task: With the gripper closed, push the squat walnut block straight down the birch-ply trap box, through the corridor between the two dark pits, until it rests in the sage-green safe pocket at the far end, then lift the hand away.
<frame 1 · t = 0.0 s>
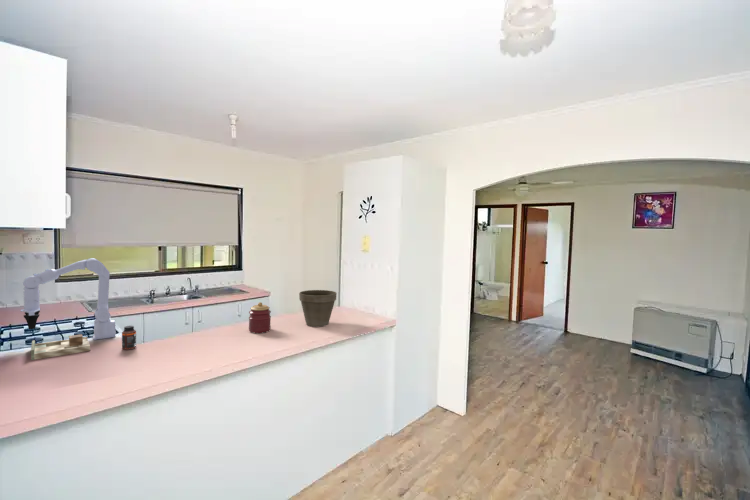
hand: (32, 327, 178), 10 cm above the worktop, fingers open, 7 cm apart
supplement bottle: (129, 348, 181), on the worktop
walnut block: (75, 344, 179), point 2 cm above the worktop, touching trap box
canister: (259, 330, 220), on the worktop
trap box: (62, 349, 175), on the worktop
plant pot: (317, 324, 239), on the worktop
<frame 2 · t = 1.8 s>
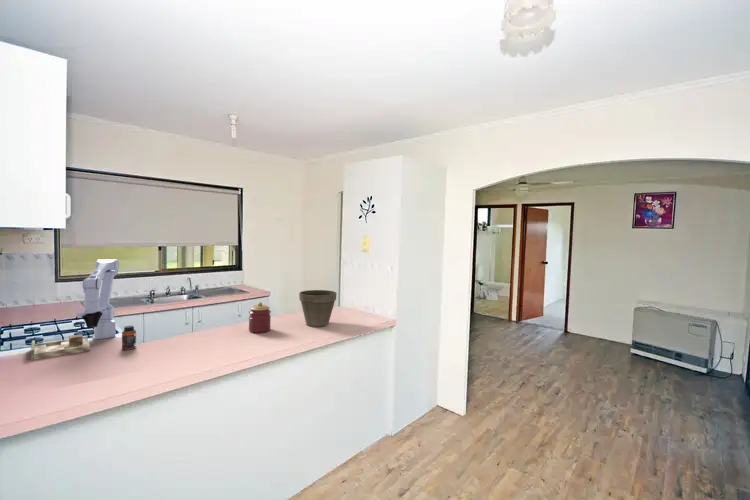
hand: (92, 327, 183), 9 cm above the worktop, fingers closed
nothing on the worktop moved.
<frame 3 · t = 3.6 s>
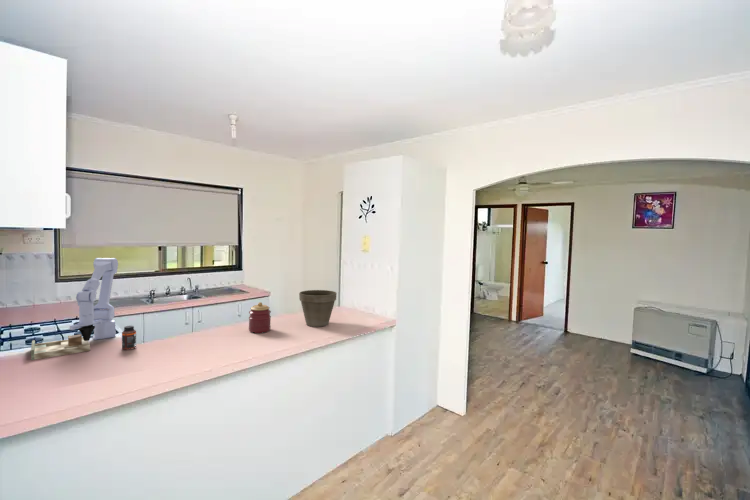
hand: (86, 340, 182), 3 cm above the worktop, fingers closed
walnut block: (75, 344, 179), point 2 cm above the worktop, touching gripper, trap box
everything else where it was.
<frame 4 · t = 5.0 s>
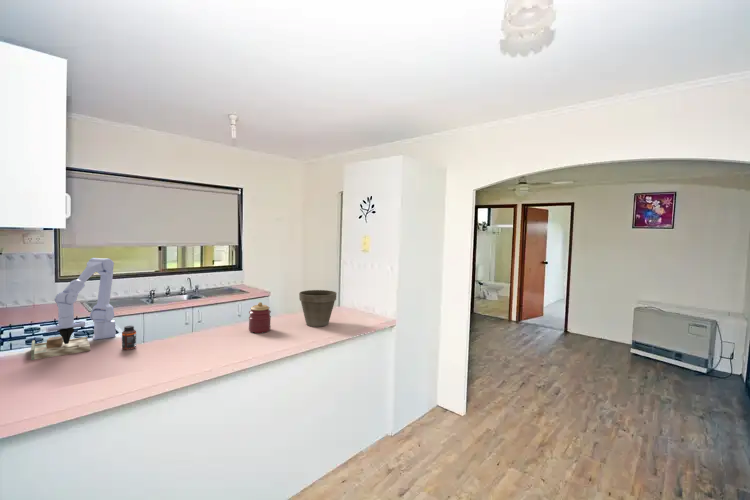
hand: (66, 343, 176), 3 cm above the worktop, fingers closed
walnut block: (54, 346, 175), point 2 cm above the worktop, touching gripper
everything else where it was.
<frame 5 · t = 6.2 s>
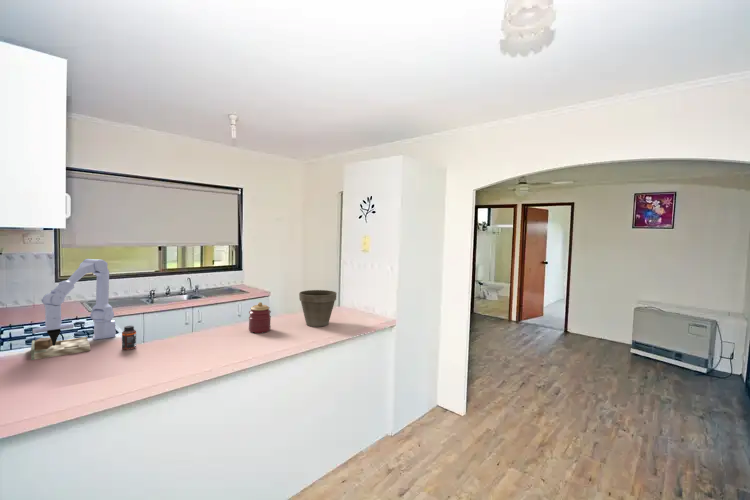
hand: (53, 345, 173), 3 cm above the worktop, fingers closed
walnut block: (43, 347, 172), point 2 cm above the worktop, touching gripper, trap box
everything else where it was.
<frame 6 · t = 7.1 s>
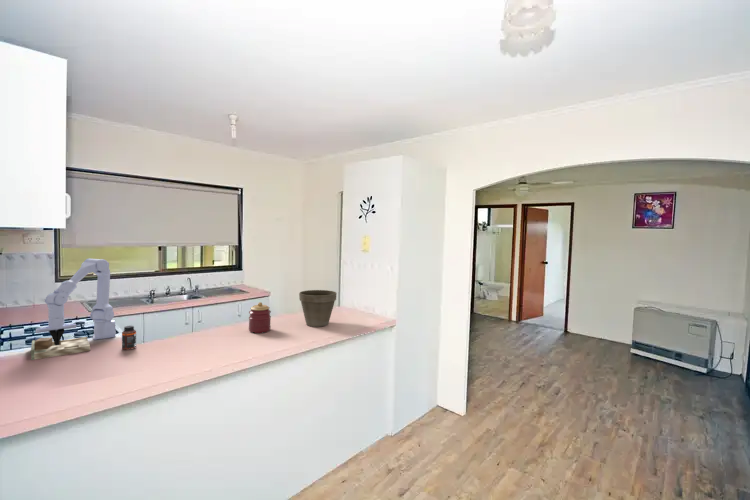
hand: (56, 344, 174), 3 cm above the worktop, fingers closed
walnut block: (43, 347, 172), point 2 cm above the worktop, touching trap box
everything else where it was.
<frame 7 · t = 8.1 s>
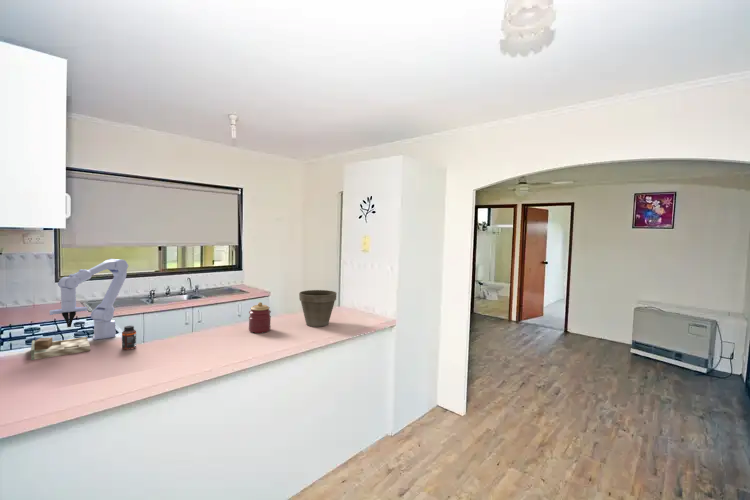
hand: (69, 326, 182), 10 cm above the worktop, fingers closed
nothing on the worktop moved.
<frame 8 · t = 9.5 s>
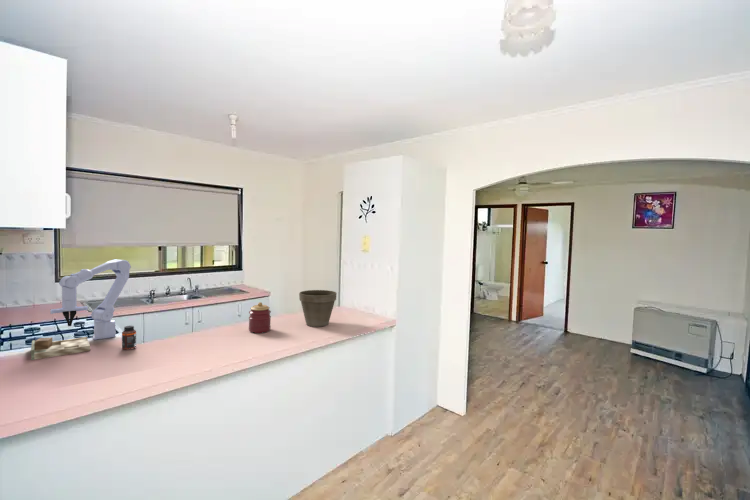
hand: (69, 325, 183), 10 cm above the worktop, fingers closed
nothing on the worktop moved.
at the end: walnut block 2.3 cm from the target spot on the trap box, point 2.0 cm above the trap box's base; walnut block tilted 0° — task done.
